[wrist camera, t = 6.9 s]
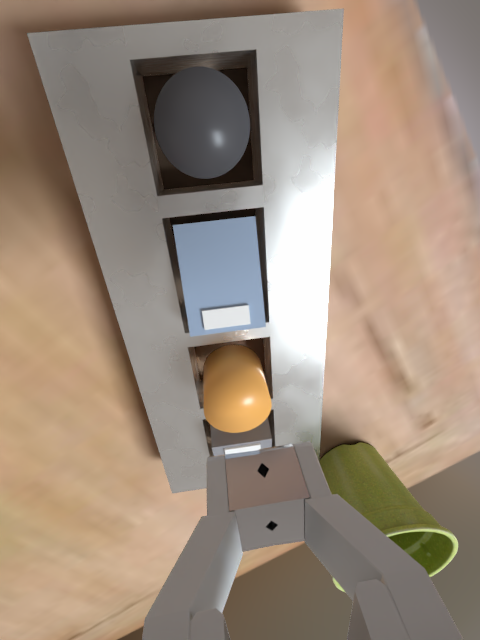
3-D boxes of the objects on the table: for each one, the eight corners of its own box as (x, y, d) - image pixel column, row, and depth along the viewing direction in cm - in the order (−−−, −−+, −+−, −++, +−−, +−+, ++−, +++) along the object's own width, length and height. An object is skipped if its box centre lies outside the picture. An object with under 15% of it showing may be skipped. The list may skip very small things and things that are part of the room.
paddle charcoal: (210, 422, 22) (211, 450, 20) (266, 414, 22) (272, 440, 20) (218, 456, 25) (220, 481, 24) (266, 448, 26) (271, 473, 24)
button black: (156, 88, 15) (143, 70, 11) (236, 81, 15) (246, 62, 12) (172, 177, 16) (165, 183, 13) (243, 169, 17) (252, 173, 13)
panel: (59, 55, 14) (26, 33, 11) (318, 34, 15) (343, 8, 12) (175, 460, 28) (172, 493, 25) (307, 440, 28) (318, 470, 26)
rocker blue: (177, 227, 17) (172, 225, 15) (250, 219, 17) (255, 215, 15) (192, 327, 18) (190, 337, 16) (261, 319, 18) (266, 327, 16)
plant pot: (412, 452, 31) (482, 550, 23) (341, 502, 34) (383, 605, 26) (353, 412, 27) (412, 513, 20) (280, 472, 30) (306, 581, 22)
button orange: (199, 348, 19) (198, 387, 16) (259, 340, 20) (270, 376, 16) (207, 395, 21) (208, 437, 18) (262, 387, 21) (272, 427, 18)
